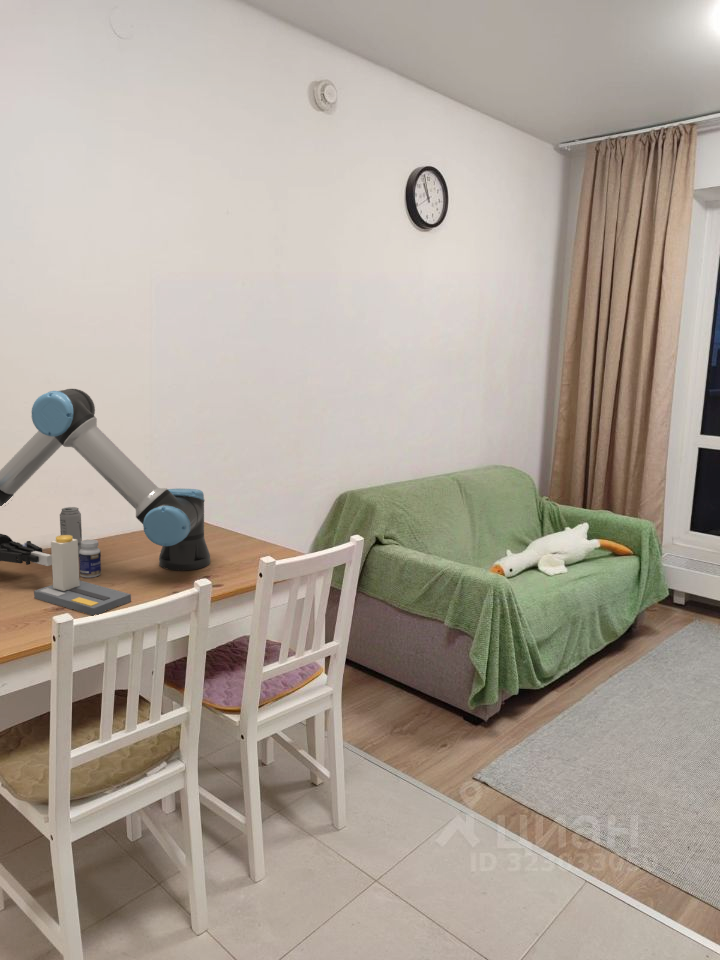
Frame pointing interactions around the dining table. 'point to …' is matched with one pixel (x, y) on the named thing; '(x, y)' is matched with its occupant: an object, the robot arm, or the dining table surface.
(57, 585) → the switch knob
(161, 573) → the dining table surface
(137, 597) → the dining table surface
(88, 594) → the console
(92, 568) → the pill bottle
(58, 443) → the robot arm
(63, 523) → the energy drink can
